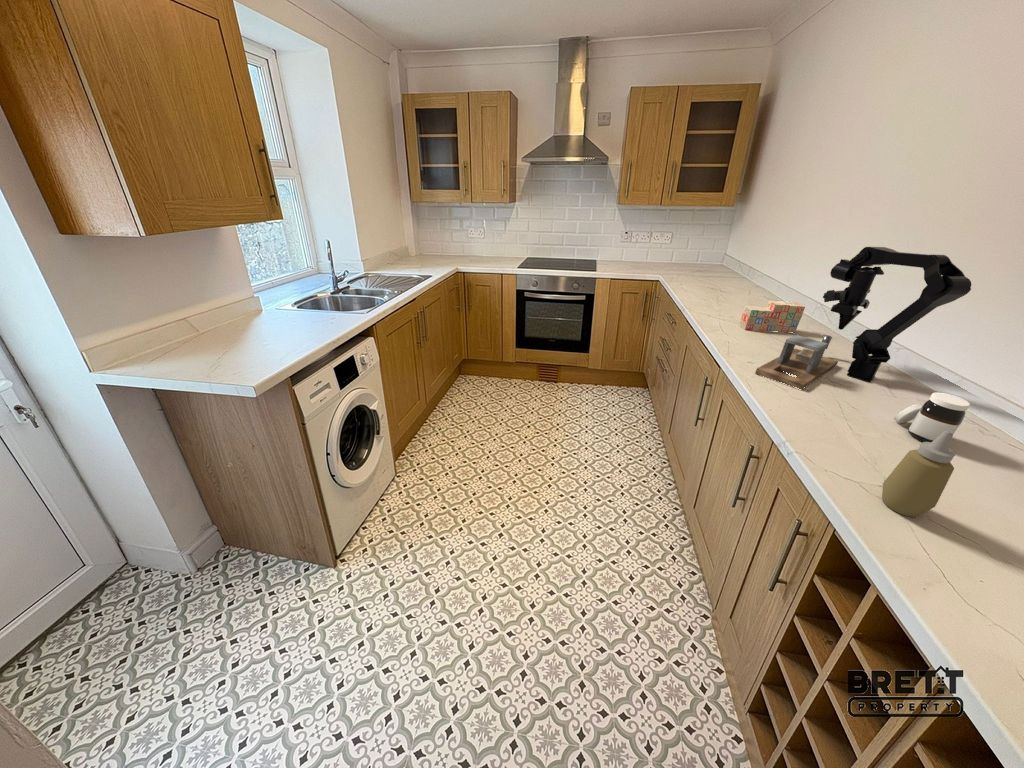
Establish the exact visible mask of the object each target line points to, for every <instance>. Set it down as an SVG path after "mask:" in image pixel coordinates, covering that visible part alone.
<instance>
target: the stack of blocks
mask: <svg viewBox="0 0 1024 768" xmlns="http://www.w3.org/2000/svg"><path fill="white" fill-rule="evenodd" d="M805 309H806V306H805V305H803V304H801V303H798V302H794V301H793V302H791V301H786V300H785V301H779V300H778V301H777V300H768V302H767V305H766V306H752V305H745V306H744V309H743V312H742V315H741V318H740V321H739V324H738V326H739V327H740V328H741V329H743V330H744V331H755V332H764V331H778V332H777V333H780V332H793V333H795V334H796V331H797V329H798V327H799V324H800V321H801V320H802V317H803V315H804V314H803V313H804V311H805ZM793 333H792V334H793Z"/></svg>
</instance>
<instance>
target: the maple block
mask: <svg viewBox="0 0 1024 768" xmlns="http://www.w3.org/2000/svg"><path fill="white" fill-rule="evenodd" d="M813 352H814V350H811V349H808V348H804V347H802V353H801V355H804V356H808V357H812V355H813Z"/></svg>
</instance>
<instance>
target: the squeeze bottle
mask: <svg viewBox="0 0 1024 768" xmlns="http://www.w3.org/2000/svg"><path fill="white" fill-rule="evenodd" d="M953 436H954V434H953V433H952V432H949V431H944V432H943V433H942V434H940V435H939V436H938V437H937V438H936V439H935V440H934V441H933V442H922V441H921V443H920V445H919V446H918V447H917V449H912V450H909V451H908V452H907V453H906V454H905V456H903V458H902V459H901V461H899V463H898V464H897V465H896V467H894V468H893V470H892V472H891V473H890V474H889V475H888V476H887V477H886V478H885V480H884V481H883V482H882V491H881V499H882V502H883V504H885V506H886V507H888V508H889V509H890V510H892V511H894V512H896V513H898V514H900V515H903V516H906V517H910V518H911V517H913V518H917V517H921V515H923V514H926V512H928V511H931V510H932V509H933V508H935V507H936V505H937V504H938V502H939V500H940V498H941V496H942V494H943V492H944V490H945V488H946V486H947V484H948V482H949V480H950V478H951V475H952V474H953V472H954V470H955V467H954V465H953V464H952V463H951V462H952V460H953V459H954V457H955V455H956V454H955V452H954V451H953V450H951V449H950V446H951V444H952V440H953Z"/></svg>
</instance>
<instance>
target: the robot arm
mask: <svg viewBox="0 0 1024 768" xmlns="http://www.w3.org/2000/svg"><path fill="white" fill-rule="evenodd" d="M888 265H893V266H894V265H895V266H904V267H911V268H912V267H913V268H922V270H923V271H924V272H923V279H924V282H925V284H926V286H925V287H924V288H923V289H922V291H921V293H920V296H919V297H918V298H917V299H916V300H915V301H913V302H911V304H909V305H908V306H907V307H906V308H904V309H903V310H901V311H900V312H898V314H896V315H895V316H893V317H892V318H891V319H890V320H888V321H887V322H886V323H884V324H883V325H882V326H880V327H879V328H877V329H876V328H875V329H873V328H872V329H869V328H868V329H865V330H864V331H862V333H861V334H859V335H857V336H855V338H856V339H854V340H853V342H852V344H853V345H852V354H851V355H852V356H851V358H852V359H853V360H852V361H851V363H850V366H849V367H848V370H847V374H846V376H848V377H851V378H854V379H858V380H861V381H863V382H864V381H865V382H867V383H871V382H872V381H873V380H875V379H876V374H877V372H878V371H879V368H880V367H881V365H882V363H884V364H885V363H888V362H889V361H890V360H891V355H890V353H889V351H888V350H889V349H888V348H889V347H890V346H891V345H892V342H893V340H894V338H895V337H897V336H899V335H900V334H901V333H904V331H906V330H907V329H908V328H909V327H911V326H913V325H914V324H915V323H917V322H918V321H920V320H921V319H923V318H924V317H925V316H927V315H929V313H931V312H932V311H934V310H935V309H937V308H939V307H941V306H944V305H947V304H949V303H952V302H954V301H956V300H958V299H960V298H963V297H964V296H966V295H967V294H969V293H970V292H971V290H972V281H971V280H970V279H969V278H968V277H966V275H965V274H964V272H963V271H962V270H961V269H960V268H959V267H957V266H956V265H955V264H954V263H953V262H952V260H951V258H950V257H948V256H947V255H945V254H925V253H924V254H923V253H911V252H901V251H898V250H897V251H896V250H895V249H892V248H889V247H885V246H865V247H863V248H862V249H861V250H860V251H859V252H858V253H857V254H856V255H855V256H853V257H852V258H851V259H850V260H849V259H840V261H839V262H838V263H836V264H835V265H834V266H833V267H832V268H831V269H830V272H829V273H830V277H831V278H832V279H835V280H838V281H839V280H840V281H842V282H847V283H849V284H848V286H846V287H845V288H844V290H843V289H842V290H835V289H831V290H830V289H829V290H827V291H826V292H824V293H823V296H822V299H823V301H824V303H829V302H834V301H835V302H836V301H838V302H837V303H836V304H833V305H832V306H831V308H830V312H832V313H837V314H838V315H839V322H838V330H839V331H840V330H841V331H842V330H843V329H845V328H846V327H847V326H848V325H849V324H850V323H851V322H852V321H853V320H854V319H855V318H856V317H858V316H859V315H860V314H861V313H862V312H863V311H862V310H859V307H861V308H863V309H864V310H866V309H868V308H869V306H870V301H869V299H866V298H867V296H868V294H869V293H871V287H872V285H873V283H874V280H875V279H876V277H877V275H878V276H879V275H880V276H883V275H885V272H884V270H883V269H882V267H881V266H888ZM873 266H874V267H873Z"/></svg>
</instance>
